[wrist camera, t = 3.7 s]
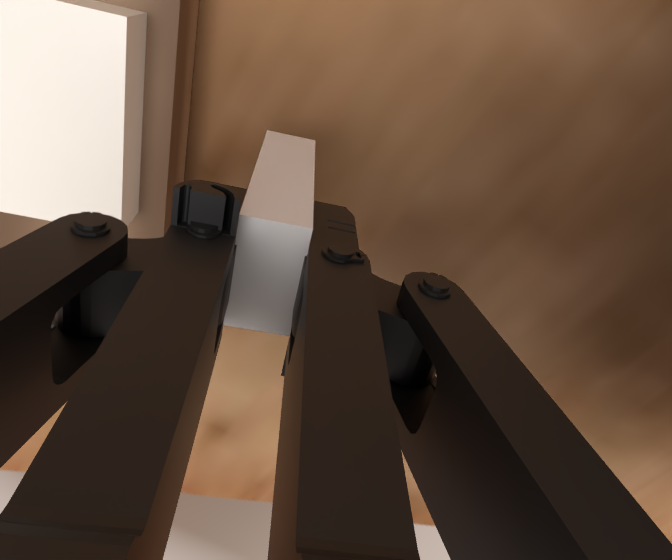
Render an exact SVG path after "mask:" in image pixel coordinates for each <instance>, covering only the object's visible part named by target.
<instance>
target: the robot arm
mask: <svg viewBox="0 0 672 560" xmlns="http://www.w3.org/2000/svg"><path fill="white" fill-rule="evenodd" d="M314 172H315V140H311V139H306V138H302V137H297V136H292V135H288V134H283V133H278V132H274V131H269V130H267V133H266V136H265V139H264V142H263V145H262V148H261V151H260V154H259V157H258V160H257V163H256V166H255V169H254V172H253V175H252V178H251V181H250V184H249V187H248V189H244V188H239V187H234V186H229V185H223V184H219V183H215V182H210V181H202V180H193V181H185V182H180V183H178V184H177V185H175V186H174V187H173V200H172V214H171V225H170V227H169V228H168V230H167V232H166V233H165V235H164V237H160V238H147V239H140V238H128V228H127V225H126V224H125V223H124V222H122V221H121V220H119V219H117V218H115V217H112V216H109V215H104V214H102V213H99V212H92V213H91V212H81V213H76V214H69V215H66V216H63V217H60V218H58V219H56V220H54V221H52V222H50V223H48V224H46V225H44V226H42V227H40V228H39V229H37V230H35V231H33V232H31V233H29V234H27V235H25V236H23V237H21V238H19V239H17V240H16V241H14V242H12V243H10V244H8V245H6V246H4V247H2V248H0V468H1V467H2V466H3V465H4V464H5V463H6V462H7V461H8V460H9V459H10V458H11V457H12V456H13V455H14V454H15V453H16V452H17V451H18V450H19V449H20V448H21V447H22V446H23V445H24V444H25V443H26V442H27V441H28V440H29V439H30V438H31V437H32V436H33V435H34V434H35V433H36V432H37V431H38V430H39V429H40V428H41V427H42V426H43V425H44V424H45V423H46V422H47V421H48V420H49V419H50V418H51V417H52V416H53V415H54V414H55V413H56V412H57V411H58V410H59V409H60V408H61V407H62V406H63V405H64V404H65V403H66V402H67V403H66V405H65V407H64V408H63V410H62V412H61V413H60V415H59V417H58V419H57V420H56V422H55V424H54V425H53V427H52V429H51V431H50V432H49V434H48V436H47V437H46V439H45V441H44V443H43V444H42V446H41V448H40V449H39V451H38V453H37V455H36V456H35V458H34V460H33V461H32V463H31V465H30V467H29V468H28V470H27V472H26V473H25V475H24V477H23V479H22V480H21V482H20V484H19V485H18V487H17V489H16V491H15V492H14V494H13V496H12V497H11V499H10V501H9V503H8V504H7V506H6V507H5V508H4V510H3V511H2V513H1V514H0V560H163V556H164V552H165V548H166V544H167V541H168V537H169V533H170V529H171V525H172V521H173V518H174V514H175V510H176V507H177V503H178V499H179V495H180V492H181V488H182V484H183V480H184V477H185V473H186V469H187V465H188V462H189V458H190V454H191V450H192V446H193V443H194V439H195V435H196V431H197V428H198V424H199V420H200V416H201V412H202V409H203V405H204V401H205V397H206V394H207V390H208V386H209V382H210V378H211V375H212V371H213V367H214V363H215V360H216V356H217V352H218V348H219V344H220V341H221V336H222V329H223V325H225V326H231V327H237V328H243V329H249V330H255V331H261V332H267V333H273V334H280V335H286V336H289V335H290V338H289V342H288V347H287V351H286V356H285V360H284V365H283V369H282V374H281V376H284V387H283V398H282V409H281V420H280V431H279V442H278V453H277V464H276V474H275V485H274V496H273V508H272V518H271V529H270V541H269V551H268V560H420V557H419V553H418V549H417V543H416V537H415V531H414V525H413V518H412V512H411V506H410V500H409V494H408V488H407V482H406V476H405V470H404V464H403V458H402V452H403V455H404V457H405V459H406V461H407V463H408V466H409V468H410V470H411V472H412V474H413V477H414V479H415V481H416V483H417V486H418V488H419V490H420V492H421V494H422V497H423V499H424V501H425V503H426V506H427V508H428V510H429V512H430V514H431V517H432V519H433V521H434V523H435V525H436V528H437V530H438V532H439V534H440V536H441V539H442V541H443V543H444V545H445V548H446V550H447V552H448V554H449V556H450V559H451V560H672V544H671V543H670V541H669V540H668V539H667V538H666V536H665V535H664V534H663V533H662V532H661V530H660V529H659V528H658V527H657V526H656V524H655V523H654V522H653V521H652V519H651V518H650V517H649V516H648V515H647V513H646V512H645V511H644V510H643V509H642V507H641V506H640V505H639V504H638V503H637V501H636V500H635V499H634V498H633V496H632V495H631V494H630V493H629V492H628V490H627V489H626V488H625V487H624V486H623V484H622V483H621V482H620V481H619V479H618V478H617V477H616V476H615V475H614V473H613V472H612V471H611V470H610V469H609V467H608V466H607V465H606V464H605V462H604V461H603V460H602V459H601V458H600V456H599V455H598V454H597V453H596V452H595V450H594V449H593V448H592V447H591V445H590V444H589V443H588V442H587V441H586V439H585V438H584V437H583V436H582V435H581V433H580V432H579V431H578V430H577V428H576V427H575V426H574V425H573V424H572V422H571V421H570V420H569V419H568V418H567V416H566V415H565V414H564V413H563V411H562V410H561V409H560V408H559V407H558V405H557V404H556V403H555V402H554V401H553V399H552V398H551V397H550V396H549V395H548V393H547V392H546V391H545V390H544V388H543V387H542V386H541V385H540V384H539V382H538V381H537V380H536V379H535V378H534V376H533V375H532V374H531V373H530V371H529V370H528V369H527V368H526V367H525V365H524V364H523V363H522V362H521V361H520V359H519V358H518V357H517V356H516V354H515V353H514V352H513V351H512V350H511V348H510V347H509V346H508V345H507V344H506V342H505V341H504V340H503V339H502V337H501V336H500V335H499V334H498V333H497V331H496V330H495V329H494V328H493V327H492V325H491V324H490V323H489V322H488V320H487V319H486V318H485V317H484V316H483V314H482V313H481V312H480V311H479V310H478V308H477V307H476V306H475V305H474V303H473V302H472V301H471V300H470V299H469V297H468V296H467V295H466V294H465V293H464V291H463V290H462V289H461V288H460V287H458V286H457V285H456V284H455V283H453V282H452V281H450V280H448V279H447V278H446V277H444V276H441V275H439V276H438V274H435V273H426V272H412V273H410V274H408V275H406V276H405V278H404V280H403V283H402V286H400V285H397V284H394V283H391V282H389V281H386V280H384V279H381V278H379V277H377V276H376V275H374V274H372V272H371V266H370V261H369V259H368V257H367V255H365V254H364V253H363V252H362V251H360V250H359V246H358V239H357V234H356V227H355V218H354V216H353V215H352V213H351V212H350V211H349V210H348V209H347V208H346V207H342V206H337V205H332V204H327V203H321V202H316V201H314ZM223 322H224V324H223ZM291 326H292V327H291ZM290 331H291V333H290ZM435 374H436V375H437V378H436V376H435ZM401 450H402V452H401Z"/></svg>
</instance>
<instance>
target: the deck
mask: <svg viewBox="0 0 672 560" xmlns="http://www.w3.org/2000/svg"><path fill="white" fill-rule="evenodd" d="M95 1H100V2H104V3H108V4H112V5H116V6H121V7H125V8H129V9H133V10H138V11H142V12H146V13H147V27H146V50H145V73H144V96H143V119H142V142H141V164H140V187H139V210H138V213H137V215H136V216H135V217H134V218H133V220H132V221H131V222H130V223H129V225H128V226H127V228H128V238H140V239H147V238H160V237H164V235H165V233H166V232H167V230H168V228H169V227H170V225H171V214H172V200H173V187H174V186H175V185H177V184H178V183H180V182H184V173H185V161H186V150H187V138H188V126H189V115H190V103H191V92H192V80H193V68H194V57H195V45H196V33H197V22H198V10H199V0H95ZM50 222H52V221H48V220H42V219H37V218H32V217H26V216H21V215H16V214H10V213H5V212H0V248H2V247H4V246H6V245H8V244H10V243H12V242H14V241H16V240H17V239H19V238H21V237H23V236H25V235H27V234H29V233H31V232H33V231H35V230H37V229H39V228H40V227H42V226H44V225H46V224H48V223H50Z"/></svg>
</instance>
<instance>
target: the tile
mask: <svg viewBox="0 0 672 560" xmlns="http://www.w3.org/2000/svg"><path fill="white" fill-rule="evenodd" d="M146 27H147V13H146V12H142V11H138V10H133V9H129V8H125V7H121V6H116V5H112V4H108V3H104V2H100V1H95V0H0V212H5V213H10V214H16V215H21V216H26V217H32V218H37V219H42V220H48V221H54V220H56V219H58V218H60V217H63V216H66V215H69V214H76V213H81V212H91V213H92V212H99V213H102V214H104V215H109V216H112V217H115V218H117V219H119V220H121V221H122V222H124V223H125V224H126V225H127V226H128V225H129V223H130V222H131V221H132V220H133V218H134V217H135V216H136V215H137V213H138V210H139V187H140V164H141V142H142V119H143V96H144V73H145V50H146Z"/></svg>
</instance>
